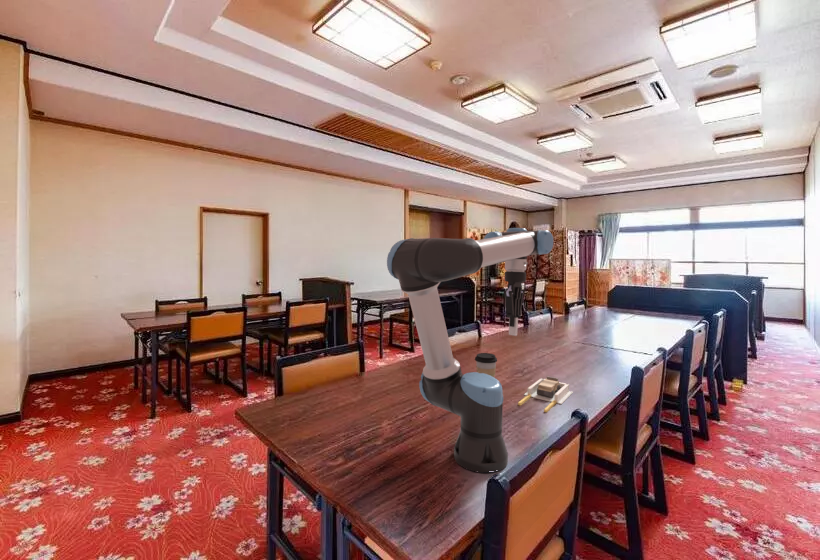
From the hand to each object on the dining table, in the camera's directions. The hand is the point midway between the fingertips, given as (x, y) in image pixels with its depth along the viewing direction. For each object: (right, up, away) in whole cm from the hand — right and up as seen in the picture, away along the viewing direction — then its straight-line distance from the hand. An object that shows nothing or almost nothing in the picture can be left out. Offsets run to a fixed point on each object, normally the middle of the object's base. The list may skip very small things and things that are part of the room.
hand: (512, 334), depth 138 cm
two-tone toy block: (+20, -27, +18) cm, 38 cm away
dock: (+17, -28, +14) cm, 35 cm away
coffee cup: (-5, -27, +23) cm, 36 cm away
